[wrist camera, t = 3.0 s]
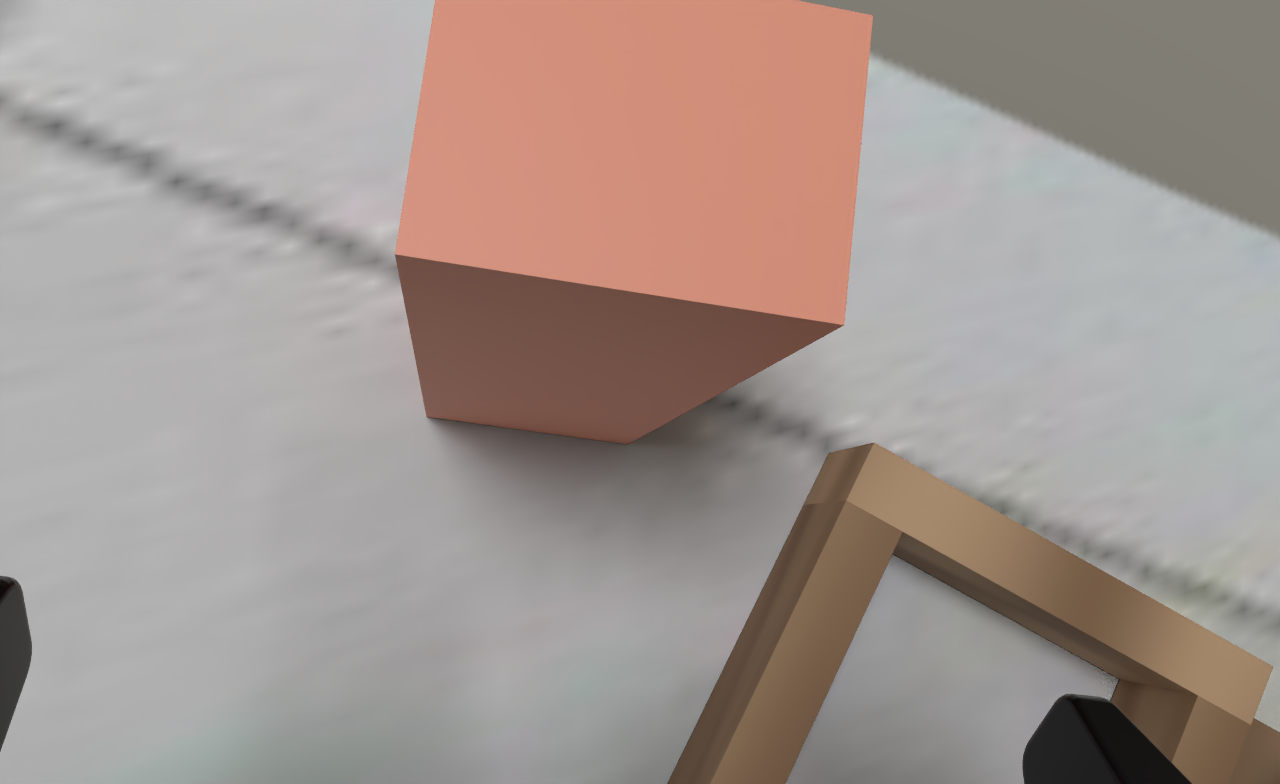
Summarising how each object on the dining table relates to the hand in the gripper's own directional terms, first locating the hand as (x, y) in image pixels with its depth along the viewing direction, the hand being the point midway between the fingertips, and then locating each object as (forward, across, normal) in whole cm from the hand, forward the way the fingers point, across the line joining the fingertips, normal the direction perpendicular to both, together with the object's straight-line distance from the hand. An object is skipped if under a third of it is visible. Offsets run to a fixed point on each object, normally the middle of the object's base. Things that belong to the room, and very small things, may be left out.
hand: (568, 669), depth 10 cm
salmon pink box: (+12, 0, +5) cm, 13 cm away
